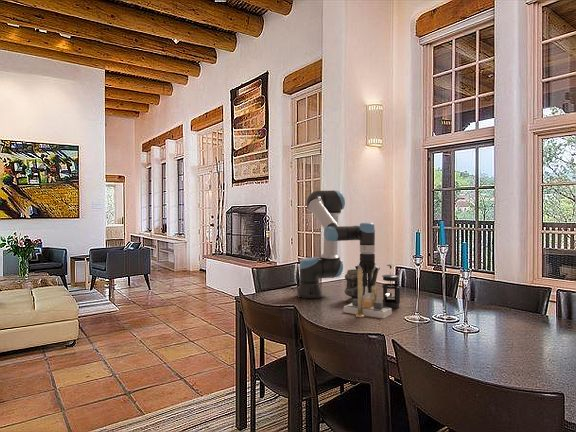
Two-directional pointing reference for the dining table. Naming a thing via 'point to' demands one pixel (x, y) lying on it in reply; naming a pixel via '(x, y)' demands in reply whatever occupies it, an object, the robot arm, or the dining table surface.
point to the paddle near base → (355, 302)
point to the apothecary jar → (352, 284)
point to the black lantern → (390, 302)
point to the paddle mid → (367, 303)
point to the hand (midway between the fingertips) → (367, 298)
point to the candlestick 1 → (360, 294)
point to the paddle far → (378, 305)
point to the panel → (369, 311)
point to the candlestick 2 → (373, 291)
